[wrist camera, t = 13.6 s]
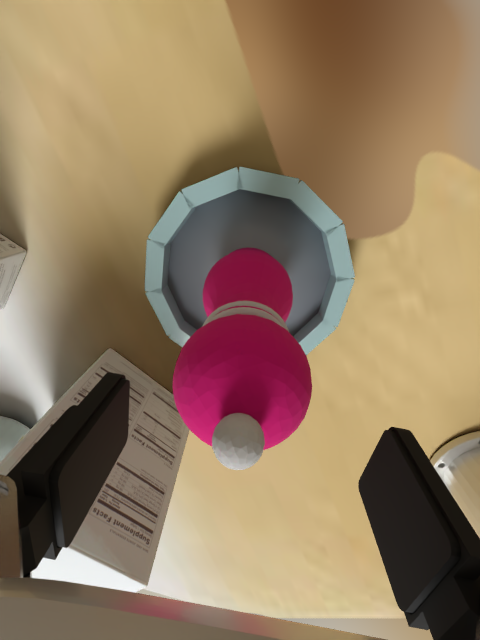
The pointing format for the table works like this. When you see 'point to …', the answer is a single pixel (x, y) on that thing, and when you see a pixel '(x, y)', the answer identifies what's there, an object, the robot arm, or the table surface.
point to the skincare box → (9, 266)
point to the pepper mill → (243, 362)
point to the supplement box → (119, 484)
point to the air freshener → (10, 434)
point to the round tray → (249, 232)
